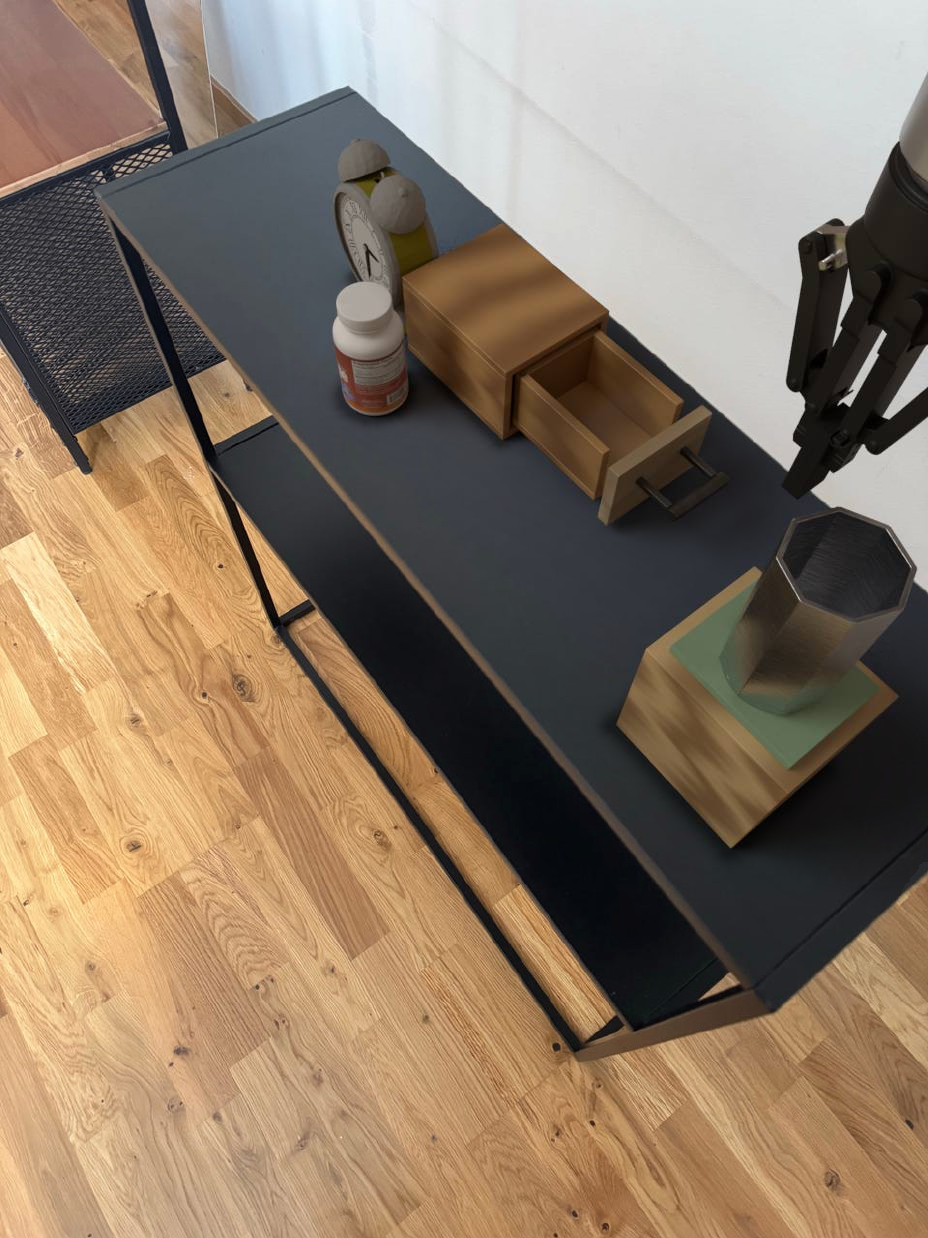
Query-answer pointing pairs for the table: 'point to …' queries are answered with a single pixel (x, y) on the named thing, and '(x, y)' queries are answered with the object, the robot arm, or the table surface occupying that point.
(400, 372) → the pill bottle
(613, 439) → the drawer
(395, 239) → the alarm clock
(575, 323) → the cabinet
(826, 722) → the mat
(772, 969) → the table surface
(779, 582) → the metal cup
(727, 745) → the stand
